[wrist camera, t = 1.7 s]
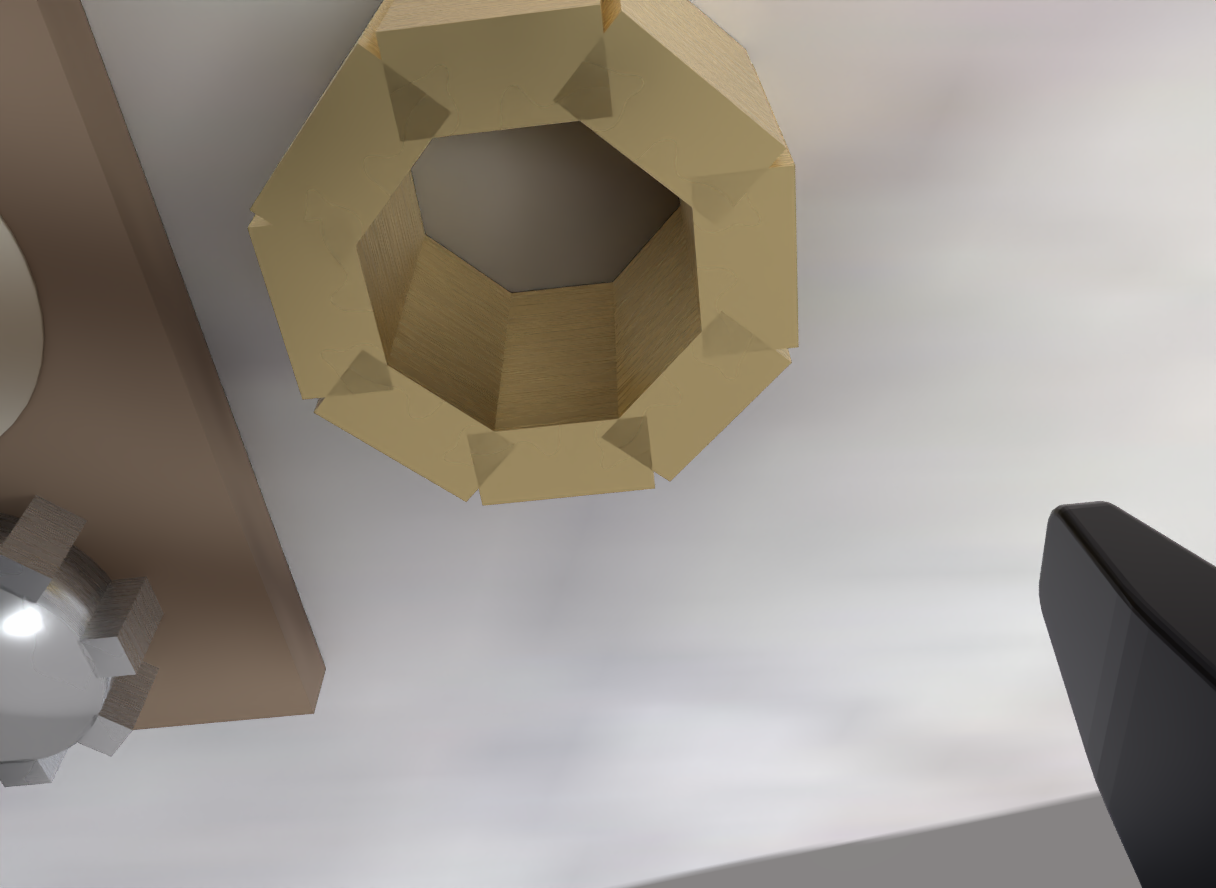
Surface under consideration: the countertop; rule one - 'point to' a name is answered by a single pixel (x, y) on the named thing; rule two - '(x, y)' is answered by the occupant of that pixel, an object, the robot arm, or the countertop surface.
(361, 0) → the countertop surface
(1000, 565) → the countertop surface
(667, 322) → the tan hollow octagonal ring
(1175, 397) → the countertop surface
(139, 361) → the gear board
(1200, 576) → the robot arm
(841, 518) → the countertop surface
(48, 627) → the gear
